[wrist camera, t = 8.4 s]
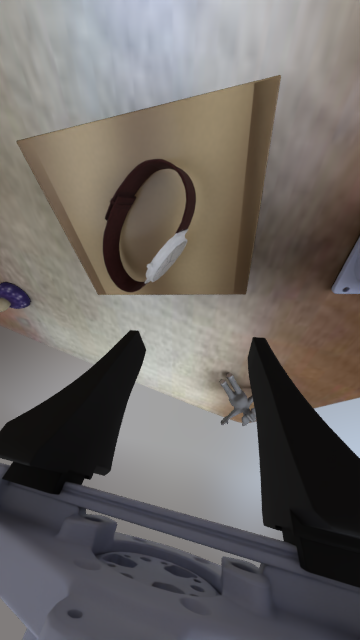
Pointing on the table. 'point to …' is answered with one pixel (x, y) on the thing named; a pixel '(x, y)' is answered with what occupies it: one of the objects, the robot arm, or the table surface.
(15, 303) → the toy lamp
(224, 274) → the shelf
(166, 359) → the table surface
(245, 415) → the gray toy figurine
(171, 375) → the table surface
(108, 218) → the watch
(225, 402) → the table surface
